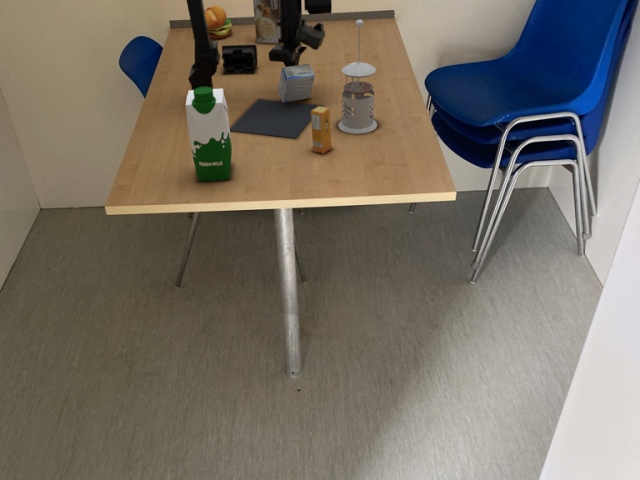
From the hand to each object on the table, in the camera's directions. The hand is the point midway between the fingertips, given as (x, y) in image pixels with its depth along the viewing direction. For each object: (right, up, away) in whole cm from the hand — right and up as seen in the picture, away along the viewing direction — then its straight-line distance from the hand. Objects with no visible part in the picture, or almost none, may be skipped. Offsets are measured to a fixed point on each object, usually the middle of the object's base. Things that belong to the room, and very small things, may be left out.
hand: (293, 77), depth 182 cm
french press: (+16, -16, -11) cm, 25 cm away
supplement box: (+7, -25, -21) cm, 33 cm away
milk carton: (-18, -32, -27) cm, 45 cm away
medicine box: (0, -4, +2) cm, 5 cm away
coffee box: (-7, +27, +39) cm, 48 cm away
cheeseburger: (-25, +31, +46) cm, 61 cm away
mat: (-4, -13, -6) cm, 15 cm away
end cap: (-16, +10, +21) cm, 29 cm away
